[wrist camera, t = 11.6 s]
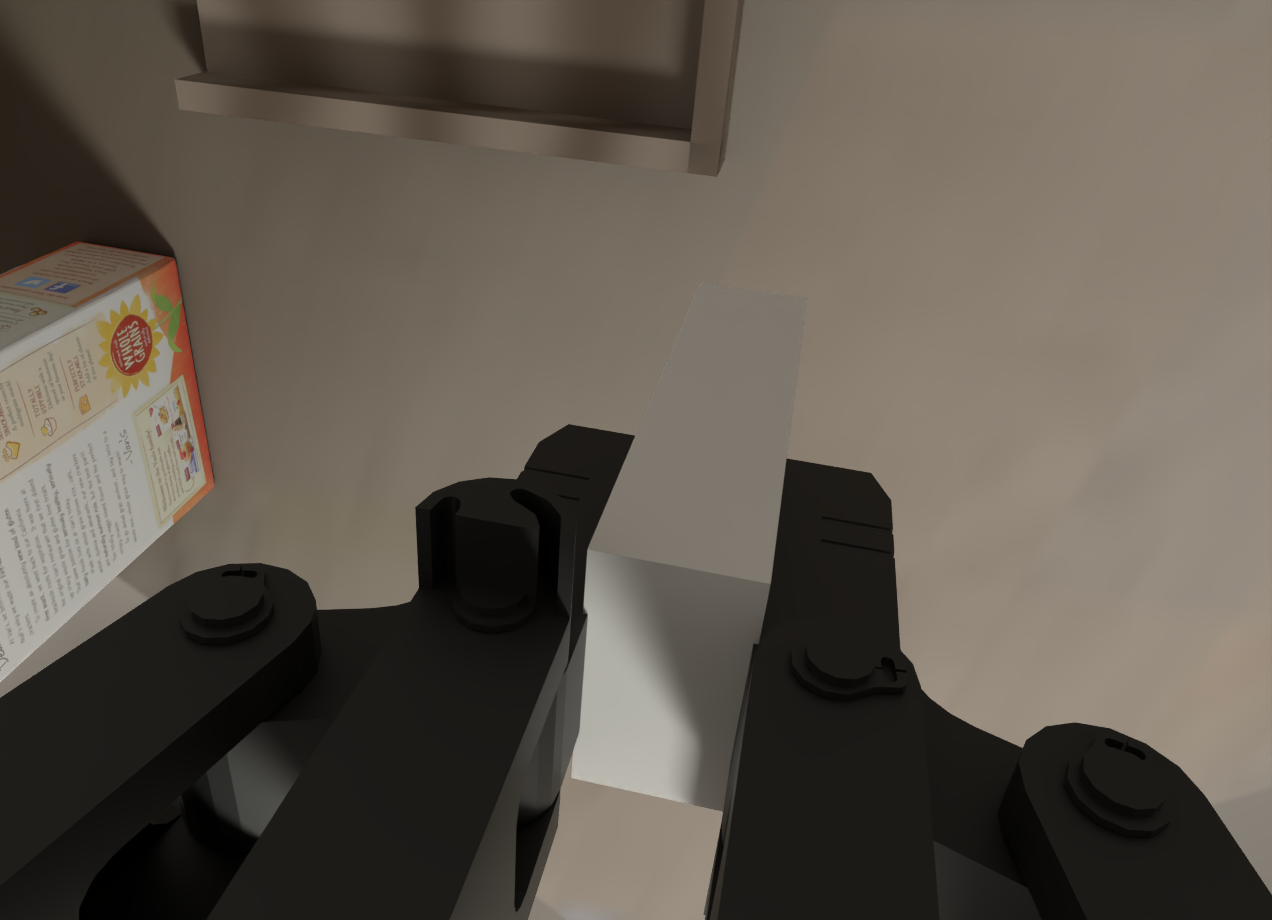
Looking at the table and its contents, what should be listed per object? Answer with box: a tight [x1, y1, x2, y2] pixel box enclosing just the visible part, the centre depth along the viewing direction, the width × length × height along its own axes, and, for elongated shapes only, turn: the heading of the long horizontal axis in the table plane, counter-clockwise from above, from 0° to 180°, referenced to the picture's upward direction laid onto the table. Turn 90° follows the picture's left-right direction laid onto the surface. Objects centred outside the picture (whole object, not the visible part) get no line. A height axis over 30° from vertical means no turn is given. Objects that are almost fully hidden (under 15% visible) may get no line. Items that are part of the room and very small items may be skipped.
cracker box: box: [0, 241, 214, 682], centre depth 42 cm, size 14×6×21 cm, turn 175°
